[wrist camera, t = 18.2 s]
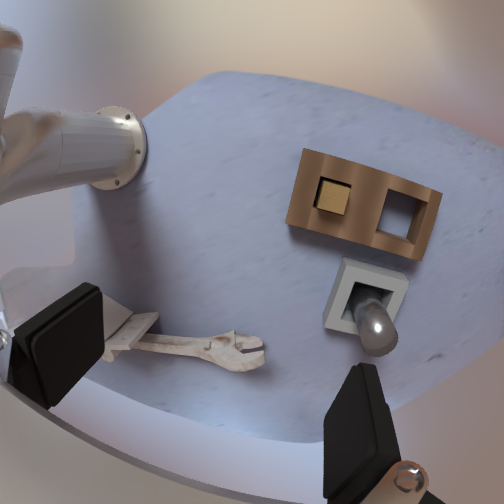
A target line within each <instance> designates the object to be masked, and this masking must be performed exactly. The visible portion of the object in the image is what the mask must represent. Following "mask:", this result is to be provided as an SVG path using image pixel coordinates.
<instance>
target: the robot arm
mask: <svg viewBox="0 0 504 504" xmlns="http://www.w3.org/2000/svg"><path fill="white" fill-rule="evenodd" d="M22 50H23V40H22V37H21V35H20V33H19V32H18V31H17V30H16V29H14V28H13V27H10V26H8V25H5V24H1V23H0V205H2V204H4V203H7V202H10V201H13V200H16V199H19V198H23V197H26V196H31V195H35V194H40V193H44V192H48V191H53V190H58V189H63V188H68V187H73V186H78V185H83V184H88V183H90V184H91V185H92V186H94V187H96V188H98V189H101V190H114V189H118V188H121V187H123V186H125V185H127V184H128V183H129V182H130V181H132V180H133V178H134V177H135V176H136V175H137V174H138V172H139V170H140V168H141V166H142V164H143V161H144V158H145V154H146V143H147V142H146V134H145V130H144V127H143V125H142V123H141V121H140V119H139V118H138V117H137V116H136V114H134V113H133V112H132V111H130V110H128V109H126V108H123V107H119V106H110V107H105V108H103V109H101V110H99V111H97V112H96V113H87V112H79V111H70V110H60V109H49V108H37V107H32V108H25V109H22V110H19V111H17V112H14V113H12V114H11V115H9V116H7V117H5V118H4V114H5V109H6V106H7V102H8V98H9V95H10V91H11V88H12V84H13V81H14V78H15V74H16V71H17V68H18V65H19V62H20V59H21V54H22ZM3 118H4V119H3ZM119 182H120V183H119ZM14 334H15V336H14V337H11V335H10V334H9V333H8V332H7V331H5V330H2V329H0V504H301V503H295V502H288V501H282V500H276V499H270V498H265V497H259V496H254V495H250V494H245V493H240V492H236V491H232V490H228V489H224V488H220V487H217V486H213V485H210V484H206V483H203V482H200V481H196V480H193V479H190V478H187V477H184V476H181V475H178V474H175V473H172V472H169V471H167V470H164V469H162V468H159V467H156V466H154V465H151V464H149V463H146V462H144V461H141V460H139V459H137V458H134V457H132V456H130V455H128V454H126V453H123V452H121V451H119V450H117V449H115V448H113V447H111V446H108V445H107V444H105V443H103V442H100V441H99V440H97V439H95V438H93V437H91V436H89V435H87V434H86V433H84V432H82V431H80V430H79V429H77V428H75V427H73V426H72V425H70V424H68V423H66V422H65V421H63V420H61V419H60V418H58V417H57V416H55V415H54V414H52V413H50V412H49V411H48V410H49V409H50V407H51V406H52V407H54V406H56V405H57V404H58V403H59V402H60V401H61V400H62V399H63V397H64V396H65V395H66V394H67V393H68V392H69V391H70V390H71V388H73V386H74V385H75V384H76V383H77V382H78V381H79V380H80V379H81V378H82V377H83V376H84V375H85V373H86V372H87V371H88V370H89V369H90V368H91V367H92V366H93V365H94V364H95V363H96V362H97V361H98V360H99V359H100V357H101V356H102V355H103V353H104V351H105V340H104V321H103V294H102V292H100V289H99V287H98V286H95V285H92V284H90V283H87V282H85V283H83V284H81V285H80V286H78V287H77V288H75V289H73V290H72V291H70V292H69V293H67V294H66V295H64V296H63V297H61V298H60V299H58V300H57V301H55V302H54V303H52V304H51V305H49V306H48V307H46V308H45V309H44V310H42V311H41V312H39V313H38V314H36V315H35V316H33V317H32V318H30V319H29V320H28V321H26V322H25V323H23V324H22V325H21V326H19V327H18V328H16V329H15V330H14ZM35 402H36V403H35ZM323 479H324V480H323V497H324V498H325V499H328V500H327V501H328V502H327V504H445V503H444V502H442V501H441V500H440V499H438V498H437V497H435V496H434V495H433V494H431V493H430V492H429V491H427V487H428V485H429V484H428V483H429V479H428V476H427V473H426V472H425V470H424V469H423V468H422V467H421V466H420V465H419V464H416V463H415V462H412V461H401V456H400V451H399V446H398V442H397V438H396V433H395V429H394V425H393V421H392V417H391V413H390V409H389V406H388V404H387V403H386V402H385V398H384V394H383V391H382V387H381V383H380V379H379V376H378V372H377V369H376V366H375V365H372V364H366V363H361V362H360V363H359V364H358V365H357V366H355V365H354V366H352V368H351V370H350V372H349V374H348V375H347V377H346V379H345V381H344V383H343V385H342V387H341V389H340V391H339V392H338V394H337V396H336V398H335V400H334V401H333V403H332V405H331V407H330V408H329V410H328V412H327V414H326V416H325V418H324V478H323Z"/></svg>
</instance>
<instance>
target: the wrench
mask: <svg viewBox="0 0 504 504" xmlns="http://www.w3.org/2000/svg"><path fill="white" fill-rule="evenodd" d="M262 345H263V343H262V340H261V339H260V338H258V337H254V336H250V335H241V334H235V332H234V330H232V331H230V332H228V333H225V334H221V335H217V336H212V337H205V338H193V337H180V336H170V335H160V334H151V333H145V334H144V335H143V336H142V337H141V338H140V339H139V341H138V342H137V343H136V344H135V345H134V346H133V347H132V348H133V349H139V350H146V351H154V352H161V353H169V354H178V355H187V356H196V357H199V358H202V359H204V360H207V361H210V362H213V363H215V364H217V365H219V366H221V367H224V368H226V369H227V370H230V371H235V372H244V371H248V370H252V369H255V368H257V367H259V366H261V365H262V364H264V363H265V356H264V350H263V351H257V352H252V353H246V354H242V353H241V352H240V351H241V350H242V349H251V348H256V347H260V346H262Z"/></svg>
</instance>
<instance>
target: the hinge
mask: <svg viewBox="0 0 504 504" xmlns="http://www.w3.org/2000/svg"><path fill="white" fill-rule="evenodd" d="M102 294H103V293H102ZM158 318H159V313H158V312H151V313H139V314H133V312H132V311H131V310H129V309H127V308H126V307H124V306H122V305H121V304H119V303H118V302H116V301H114V300H113V299H111V298H110V297H108V296H106V295H105V294H103V321H104V340H105V351H104V353H103V355H102V356H101V358H102V359H104V360H105V361H106V362H113V361H114V359H115V358H116V357H117V356H118V355H119V354H120V353H121V352H122V350H131V349H132V347H133V346H134V345H135V344H136V343H137V342H138V341H139V339H140V338H141V337H142V336H143V335H144V334H145V332H146V331H147V330H148V329H149V328H150V327H151V326H152V324H153V323H154V322H155V321H156V320H157V319H158Z"/></svg>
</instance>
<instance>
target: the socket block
mask: <svg viewBox="0 0 504 504" xmlns="http://www.w3.org/2000/svg"><path fill="white" fill-rule="evenodd" d="M320 176H323V177H327V178H330V179H334V180H337V181H341V182H344V183H347V187H348V188H350V193H349V196H348V200H347V204H346V207H345V211H344V214H343V215H342V214H338V213H335V212H331V211H328V210H324V209H320V208H317V205H315V204H313V203H314V199H315V195H316V191H317V187H318V183H319V179H320ZM388 188H389V189H392V190H395V191H398V192H401V193H404V194H407V195H409V196H412V197H415V198H418V201H417V204H416V208H415V211H414V214H413V218H412V221H411V224H410V228H409V231H408V234H407V237H406V238H403V237H400V236H397V235H394V234H390V233H387V232H384V231H381V230H377V229H376V228H377V225H378V222H379V218H380V215H381V212H382V208H383V205H384V201H385V198H386V194H387V190H388ZM442 194H443V193H440V192H438V191H435V190H433V189H430V188H428V187H425V186H423V185H420V184H417V183H415V182H412V181H409V180H406V179H404V178H401V177H398V176H395V175H392V174H389V173H386V172H383V171H380V170H377V169H374V168H371V167H368V166H365V165H362V164H359V163H355V162H352V161H349V160H345V159H342V158H338V157H335V156H331V155H328V154H324V153H321V152H317V151H313V150H309V149H305V148H303V152H302V156H301V160H300V164H299V169H298V173H297V177H296V181H295V185H294V189H293V193H292V197H291V201H290V205H289V209H288V213H287V217H286V221H285V223H286V224H290V225H293V226H297V227H301V228H305V229H309V230H312V231H316V232H320V233H323V234H327V235H331V236H334V237H338V238H342V239H345V240H349V241H352V242H356V243H359V244H363V245H366V246H370V247H373V248H377V249H380V250H384V251H387V252H391V253H394V254H397V255H401V256H404V257H407V258H411V259H414V260H417V261H422V258H423V255H424V252H425V250H426V247H427V244H428V241H429V238H430V235H431V232H432V229H433V225H434V222H435V219H436V216H437V212H438V209H439V205H440V202H441V198H442Z"/></svg>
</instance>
